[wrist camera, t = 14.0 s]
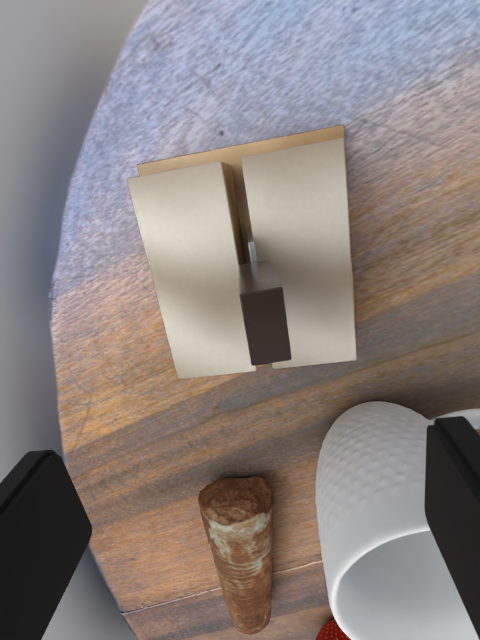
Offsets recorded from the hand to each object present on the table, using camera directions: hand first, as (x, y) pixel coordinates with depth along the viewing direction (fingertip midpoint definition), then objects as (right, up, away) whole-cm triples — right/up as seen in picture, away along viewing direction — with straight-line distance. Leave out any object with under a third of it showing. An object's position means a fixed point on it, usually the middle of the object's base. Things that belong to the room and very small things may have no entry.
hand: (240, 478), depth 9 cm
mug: (+12, -5, +21) cm, 25 cm away
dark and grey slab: (+1, +8, +16) cm, 17 cm away
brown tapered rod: (+1, -18, +27) cm, 32 cm away
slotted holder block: (+1, +9, +16) cm, 19 cm away
